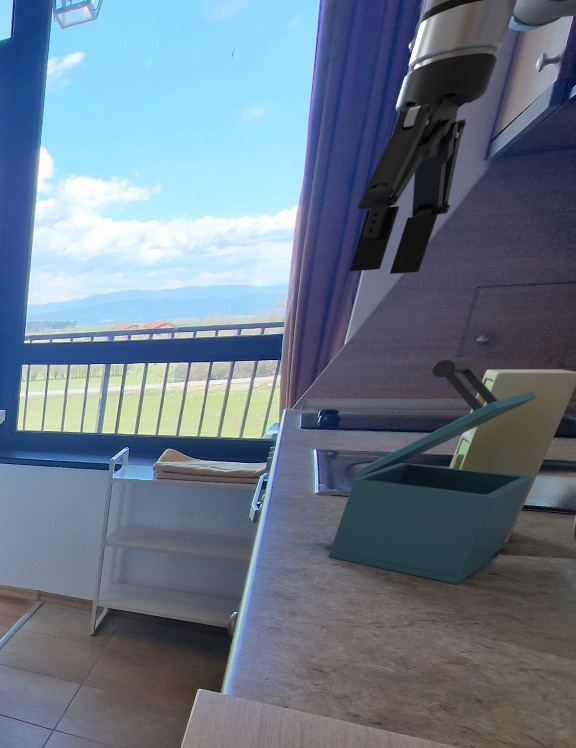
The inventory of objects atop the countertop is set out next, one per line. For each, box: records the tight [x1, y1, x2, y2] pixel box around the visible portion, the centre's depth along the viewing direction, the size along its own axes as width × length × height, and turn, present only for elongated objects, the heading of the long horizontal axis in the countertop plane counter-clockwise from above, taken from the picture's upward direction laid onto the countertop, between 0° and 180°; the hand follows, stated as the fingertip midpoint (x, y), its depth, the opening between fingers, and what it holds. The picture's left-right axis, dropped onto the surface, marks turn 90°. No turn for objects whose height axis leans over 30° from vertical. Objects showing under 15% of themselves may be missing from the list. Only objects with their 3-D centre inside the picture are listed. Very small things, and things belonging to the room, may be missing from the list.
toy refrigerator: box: [448, 369, 576, 544], centre depth 79 cm, size 8×7×21 cm
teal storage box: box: [328, 462, 533, 585], centre depth 75 cm, size 12×16×10 cm
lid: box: [353, 356, 536, 478], centre depth 73 cm, size 12×16×8 cm
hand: (384, 272), depth 80 cm, fingers open, 13 cm apart
